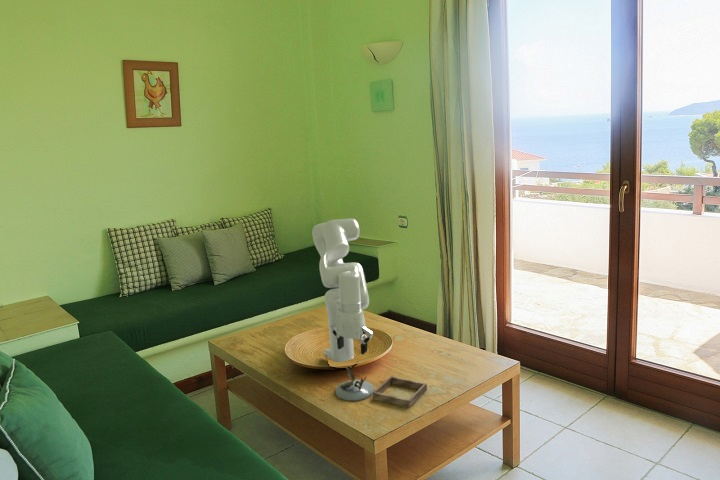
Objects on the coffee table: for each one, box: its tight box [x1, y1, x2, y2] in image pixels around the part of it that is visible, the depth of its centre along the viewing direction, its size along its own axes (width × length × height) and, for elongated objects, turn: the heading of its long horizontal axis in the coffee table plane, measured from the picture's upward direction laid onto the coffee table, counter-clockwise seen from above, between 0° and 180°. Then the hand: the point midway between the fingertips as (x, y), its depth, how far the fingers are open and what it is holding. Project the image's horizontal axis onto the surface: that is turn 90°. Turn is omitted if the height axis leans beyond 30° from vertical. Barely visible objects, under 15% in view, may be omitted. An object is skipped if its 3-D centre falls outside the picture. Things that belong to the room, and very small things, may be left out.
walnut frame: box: [372, 375, 428, 409], centre depth 210 cm, size 15×14×2 cm
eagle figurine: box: [340, 368, 367, 391], centre depth 214 cm, size 8×7×9 cm
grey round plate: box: [335, 379, 375, 402], centre depth 214 cm, size 14×14×1 cm
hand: (352, 350), depth 212 cm, fingers open, 9 cm apart
